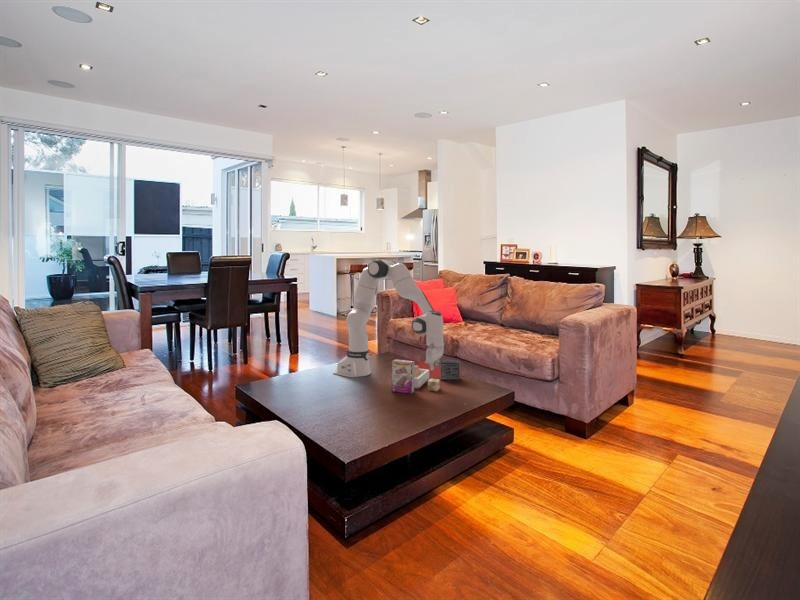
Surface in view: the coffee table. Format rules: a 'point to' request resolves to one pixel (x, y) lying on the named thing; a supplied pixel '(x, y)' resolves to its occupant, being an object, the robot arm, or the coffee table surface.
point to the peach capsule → (416, 371)
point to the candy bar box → (403, 376)
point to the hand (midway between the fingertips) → (434, 367)
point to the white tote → (421, 378)
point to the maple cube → (434, 384)
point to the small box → (450, 370)
